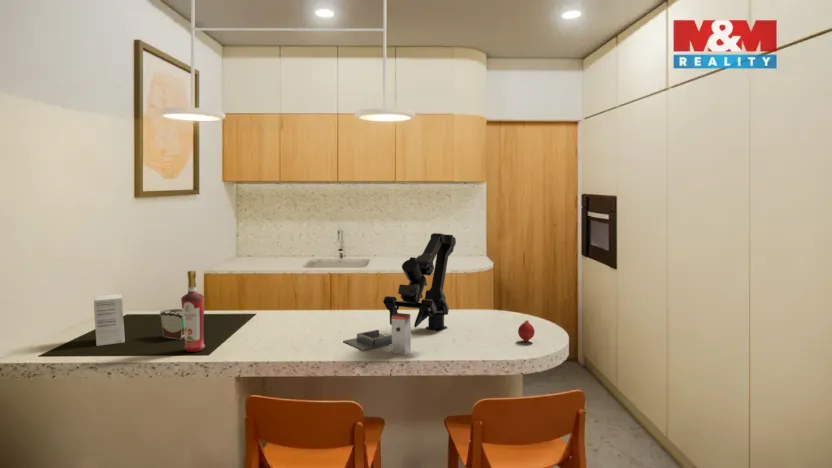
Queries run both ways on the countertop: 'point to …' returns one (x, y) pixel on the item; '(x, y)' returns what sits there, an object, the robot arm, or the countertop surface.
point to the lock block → (401, 333)
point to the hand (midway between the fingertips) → (402, 325)
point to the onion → (526, 331)
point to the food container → (172, 323)
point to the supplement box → (109, 319)
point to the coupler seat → (369, 340)
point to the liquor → (193, 316)
